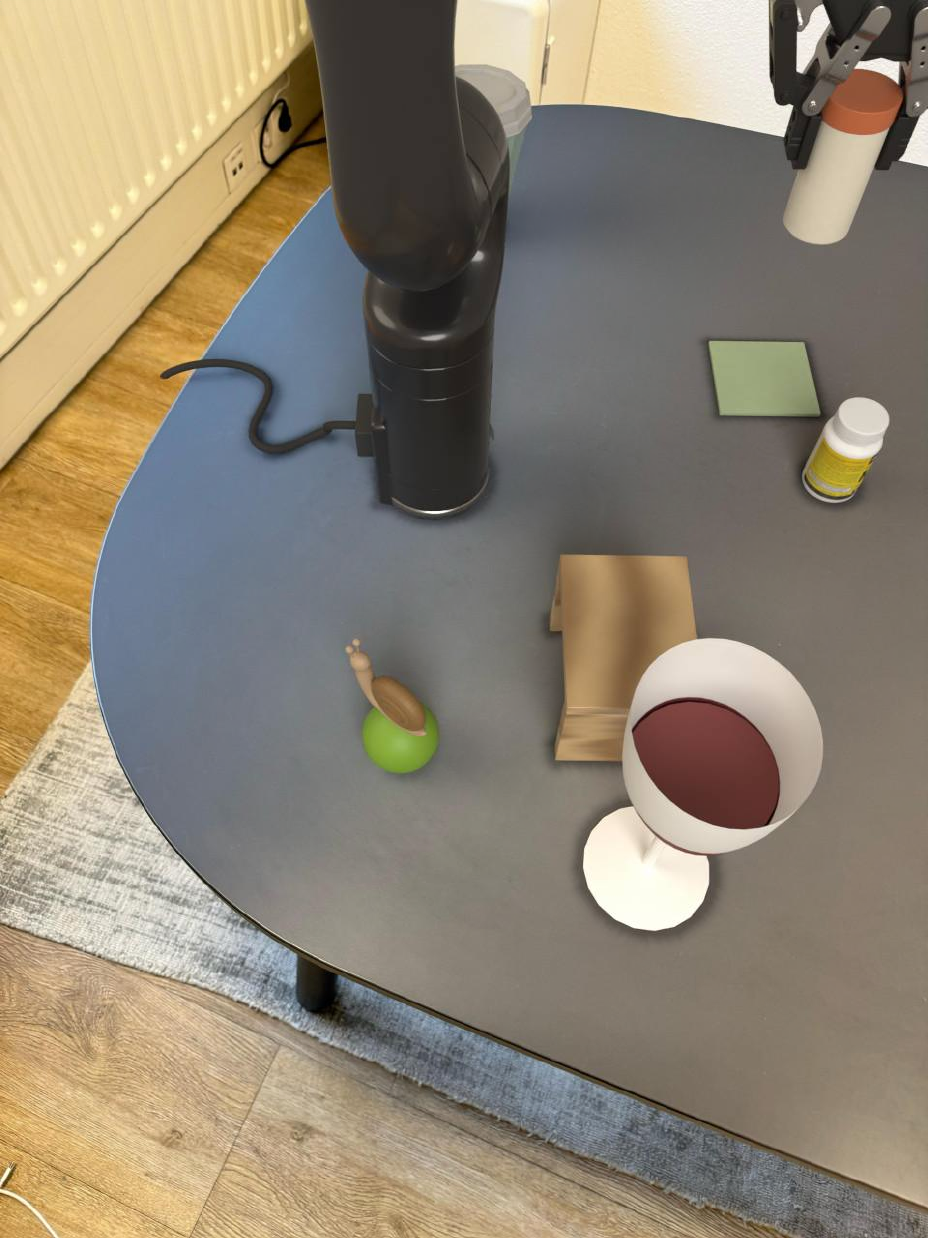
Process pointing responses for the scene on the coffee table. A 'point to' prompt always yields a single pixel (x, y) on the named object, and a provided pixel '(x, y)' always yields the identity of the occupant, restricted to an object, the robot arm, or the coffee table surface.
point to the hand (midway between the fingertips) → (837, 161)
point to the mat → (763, 379)
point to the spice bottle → (842, 157)
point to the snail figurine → (393, 720)
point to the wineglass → (700, 776)
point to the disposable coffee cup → (503, 103)
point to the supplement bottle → (845, 450)
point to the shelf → (613, 641)
